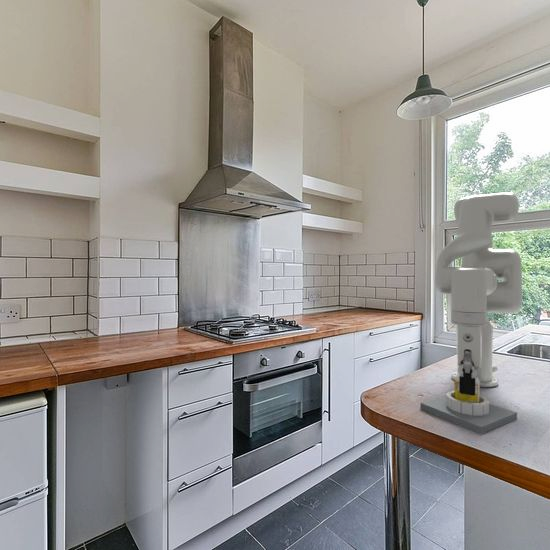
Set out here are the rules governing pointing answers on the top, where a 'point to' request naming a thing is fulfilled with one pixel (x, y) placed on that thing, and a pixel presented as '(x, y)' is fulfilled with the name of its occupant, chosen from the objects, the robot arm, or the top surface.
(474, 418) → the socket board
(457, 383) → the supplement bottle
